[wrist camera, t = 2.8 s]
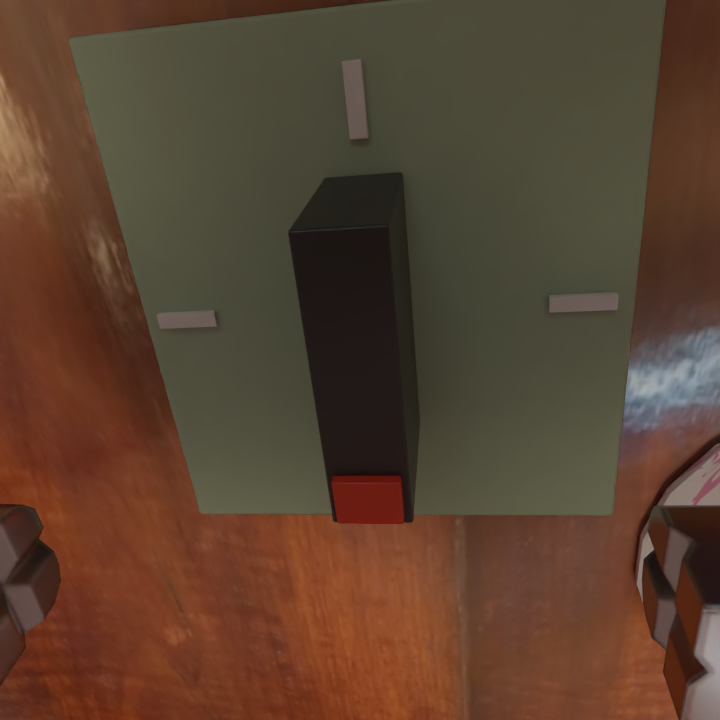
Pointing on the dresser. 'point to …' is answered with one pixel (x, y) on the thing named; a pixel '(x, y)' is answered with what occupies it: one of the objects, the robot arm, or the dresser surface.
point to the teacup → (686, 497)
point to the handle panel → (423, 221)
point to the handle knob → (360, 343)
